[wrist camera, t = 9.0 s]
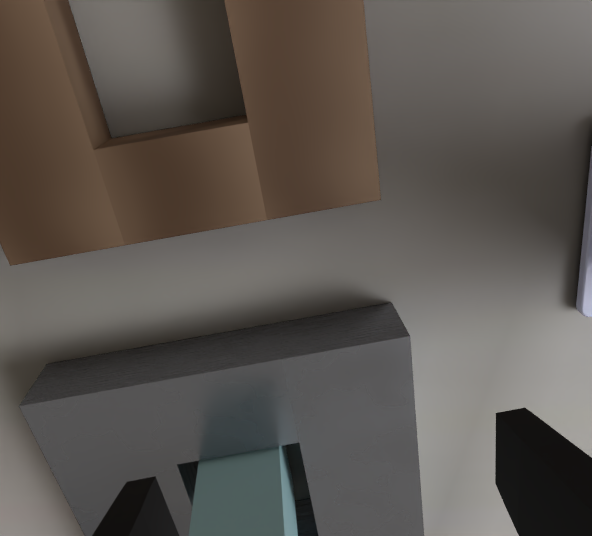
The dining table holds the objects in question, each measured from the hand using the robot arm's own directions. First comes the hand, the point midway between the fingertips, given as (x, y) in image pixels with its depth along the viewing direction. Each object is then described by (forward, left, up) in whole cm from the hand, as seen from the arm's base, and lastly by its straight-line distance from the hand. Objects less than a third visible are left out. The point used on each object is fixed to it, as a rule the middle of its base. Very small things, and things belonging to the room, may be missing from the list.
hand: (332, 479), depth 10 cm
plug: (+3, +8, -9) cm, 13 cm away
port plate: (+3, +9, -9) cm, 13 cm away
